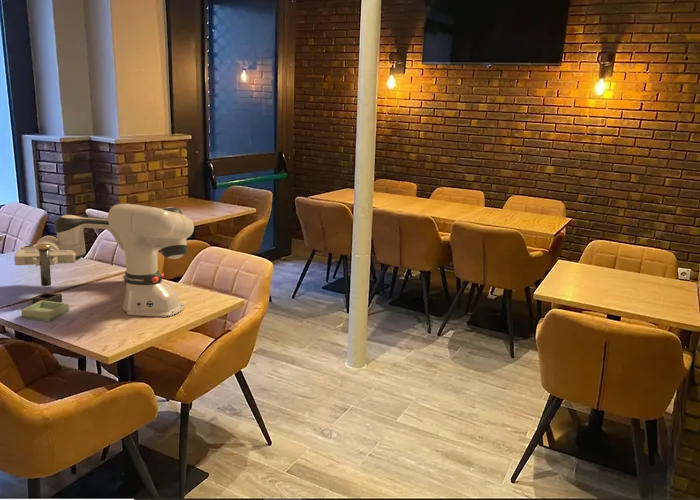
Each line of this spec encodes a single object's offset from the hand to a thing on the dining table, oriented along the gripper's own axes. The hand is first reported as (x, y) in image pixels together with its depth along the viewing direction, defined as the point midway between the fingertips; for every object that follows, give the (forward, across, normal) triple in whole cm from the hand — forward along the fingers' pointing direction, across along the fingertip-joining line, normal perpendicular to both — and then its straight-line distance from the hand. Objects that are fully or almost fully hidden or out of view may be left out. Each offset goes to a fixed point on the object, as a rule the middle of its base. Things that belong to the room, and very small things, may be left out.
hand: (44, 263), depth 209 cm
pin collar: (-1, 0, -16) cm, 16 cm away
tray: (+11, 0, -16) cm, 19 cm away
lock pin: (-1, 0, -8) cm, 9 cm away
